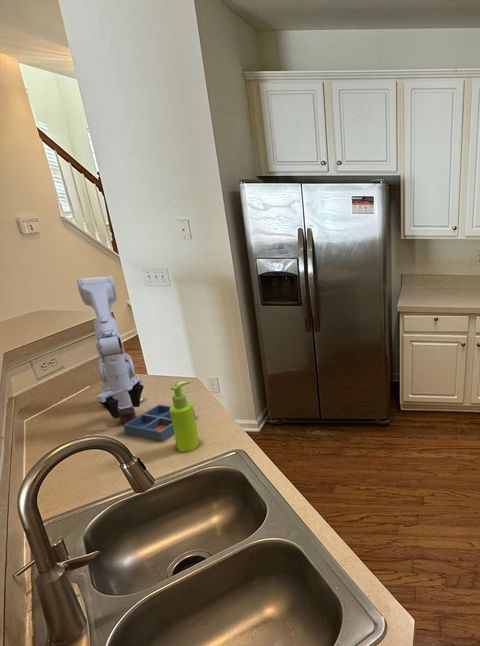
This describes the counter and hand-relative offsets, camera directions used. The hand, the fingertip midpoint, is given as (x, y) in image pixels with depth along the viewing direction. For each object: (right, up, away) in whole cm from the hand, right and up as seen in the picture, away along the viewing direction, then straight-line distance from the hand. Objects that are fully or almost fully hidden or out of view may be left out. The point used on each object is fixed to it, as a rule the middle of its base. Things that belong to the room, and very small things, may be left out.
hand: (126, 411), depth 138 cm
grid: (+12, -4, -1) cm, 12 cm away
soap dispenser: (+25, -9, -10) cm, 29 cm away
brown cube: (0, -3, +1) cm, 4 cm away
